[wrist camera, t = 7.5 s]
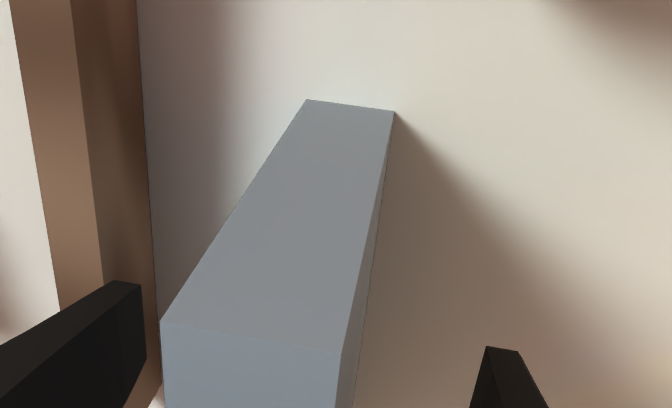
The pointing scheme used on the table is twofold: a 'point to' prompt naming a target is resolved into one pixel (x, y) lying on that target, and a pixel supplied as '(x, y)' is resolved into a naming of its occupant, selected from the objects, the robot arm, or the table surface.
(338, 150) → the grey upright plank
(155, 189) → the table surface
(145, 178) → the rack
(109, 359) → the robot arm
